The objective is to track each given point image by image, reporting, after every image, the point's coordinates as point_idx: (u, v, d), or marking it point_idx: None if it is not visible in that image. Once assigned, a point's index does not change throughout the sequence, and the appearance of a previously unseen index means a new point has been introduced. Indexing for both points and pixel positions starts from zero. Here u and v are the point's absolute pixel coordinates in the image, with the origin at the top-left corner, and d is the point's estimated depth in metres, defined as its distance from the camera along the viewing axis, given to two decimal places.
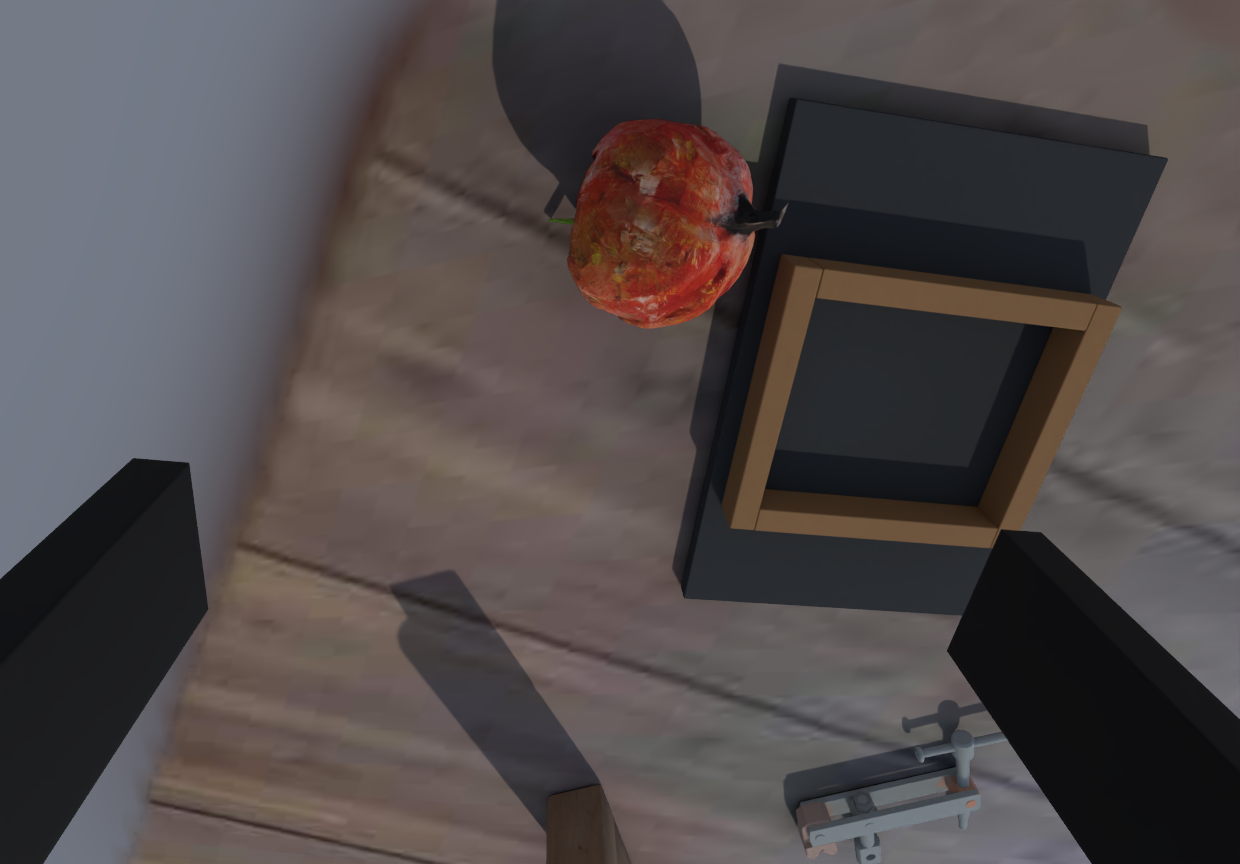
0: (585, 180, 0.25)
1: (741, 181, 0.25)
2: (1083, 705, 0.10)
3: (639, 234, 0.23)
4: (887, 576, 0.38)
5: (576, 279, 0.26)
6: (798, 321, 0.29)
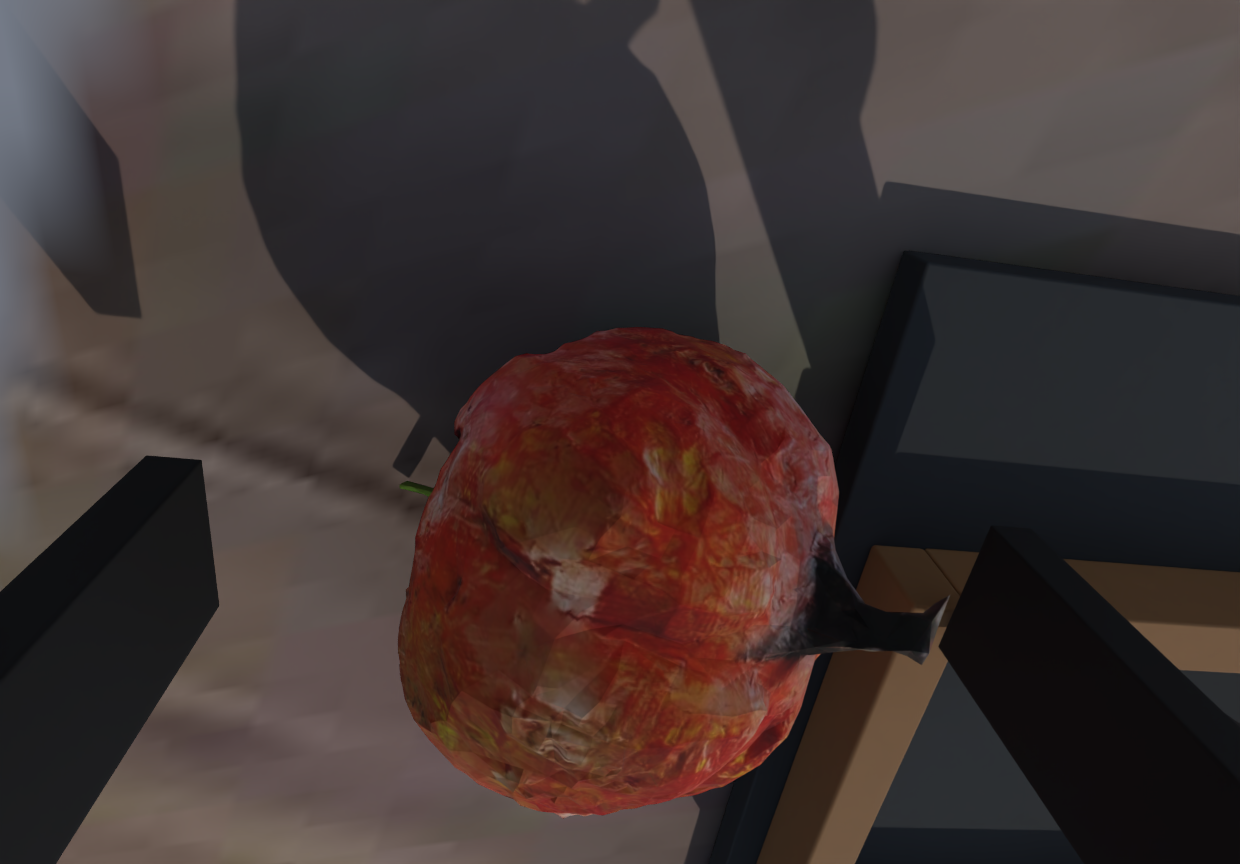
0: (429, 507, 0.10)
1: (818, 506, 0.10)
2: (1071, 699, 0.10)
3: (550, 724, 0.08)
4: None
5: None
6: (911, 696, 0.14)
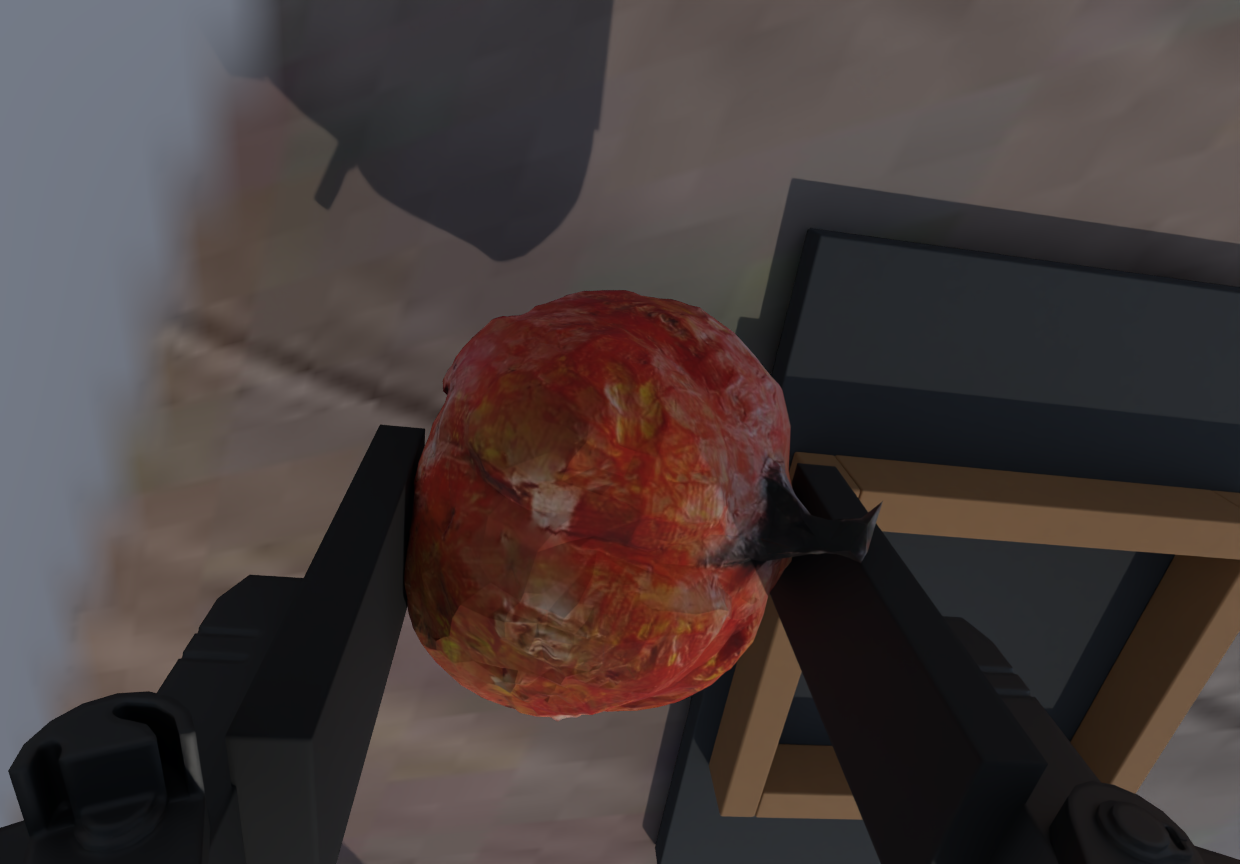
0: (424, 454, 0.11)
1: (768, 435, 0.11)
2: (834, 608, 0.11)
3: (537, 626, 0.10)
4: None
5: None
6: None
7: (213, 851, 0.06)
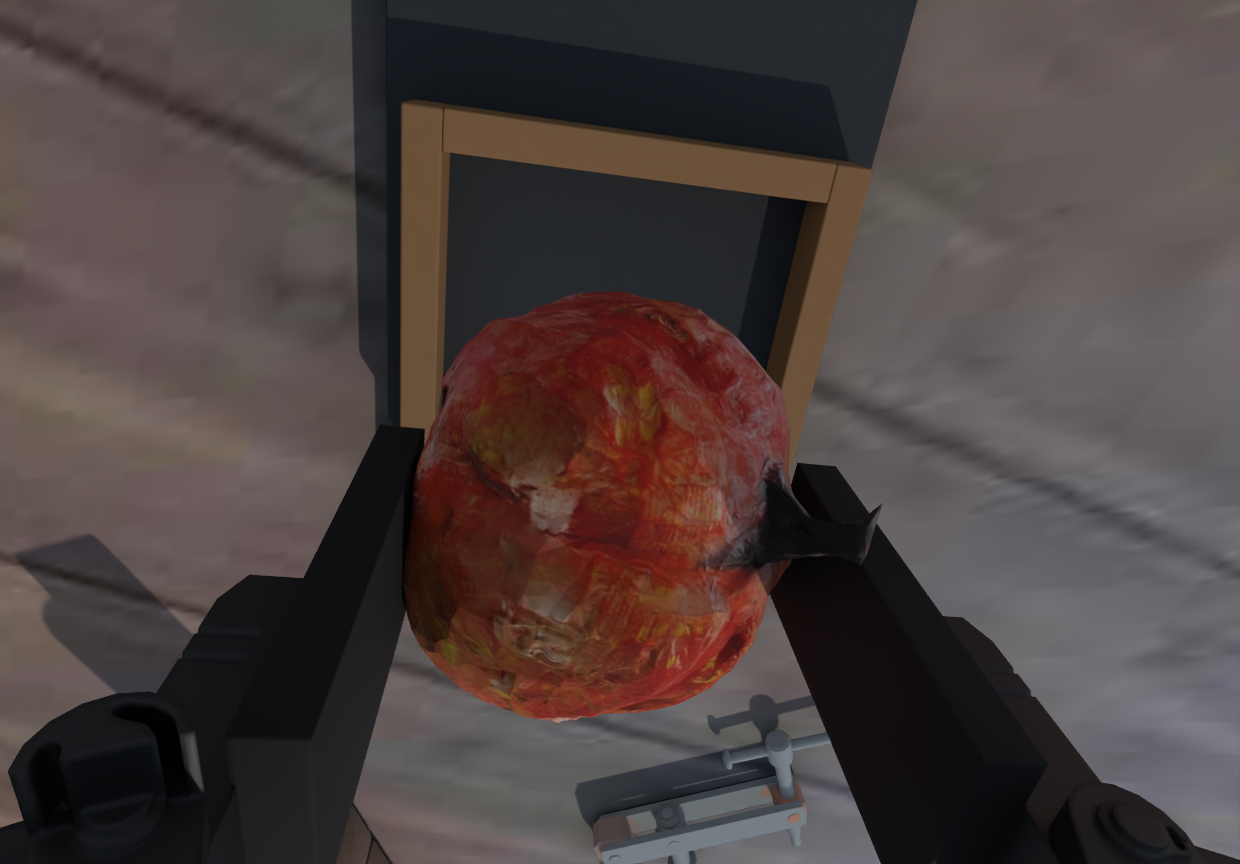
0: (423, 456, 0.11)
1: (767, 437, 0.11)
2: (834, 608, 0.11)
3: (535, 628, 0.10)
4: None
5: None
6: (424, 185, 0.22)
7: (212, 851, 0.06)
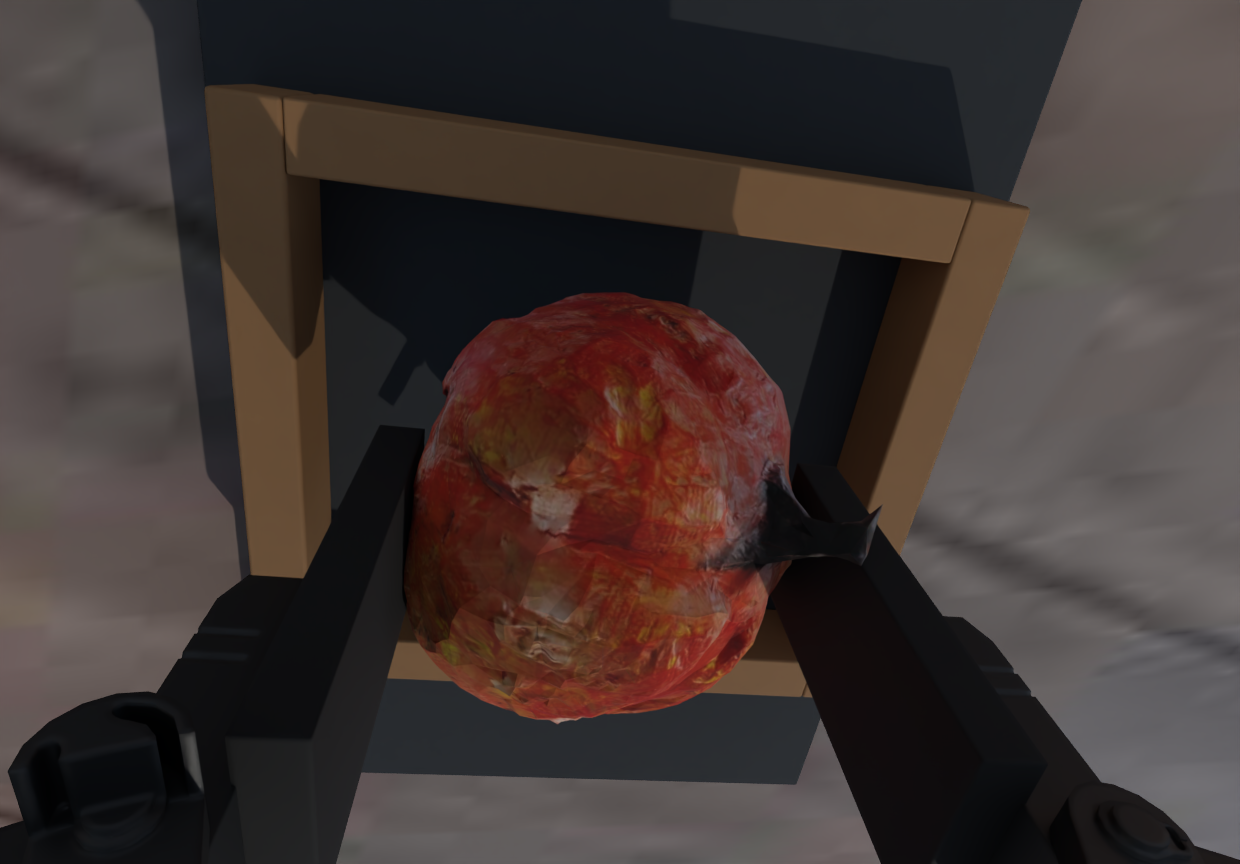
0: (424, 457, 0.11)
1: (768, 437, 0.11)
2: (834, 608, 0.11)
3: (535, 629, 0.10)
4: (643, 727, 0.21)
5: None
6: (259, 233, 0.12)
7: (213, 851, 0.06)
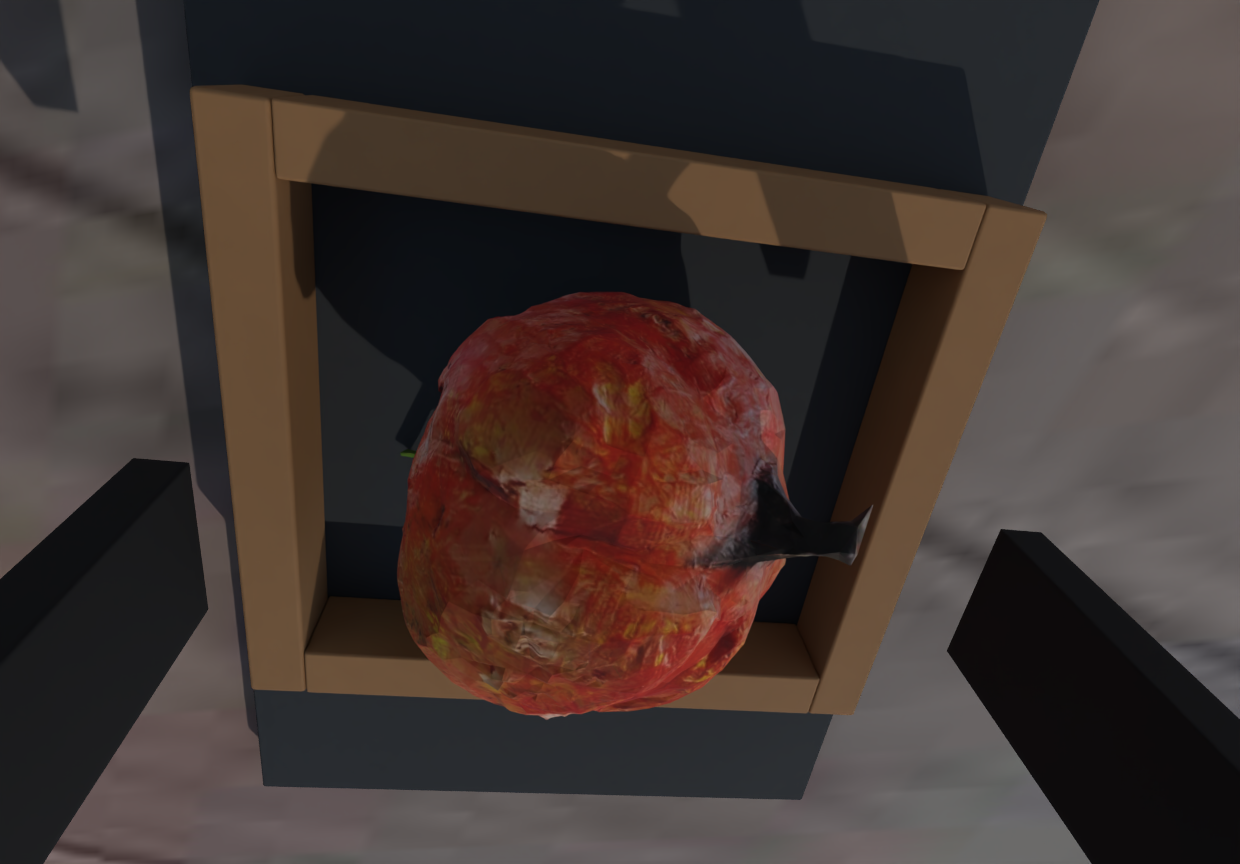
0: (418, 452, 0.11)
1: (760, 437, 0.11)
2: (1083, 705, 0.10)
3: (522, 623, 0.10)
4: (645, 742, 0.21)
5: None
6: (248, 239, 0.12)
7: None
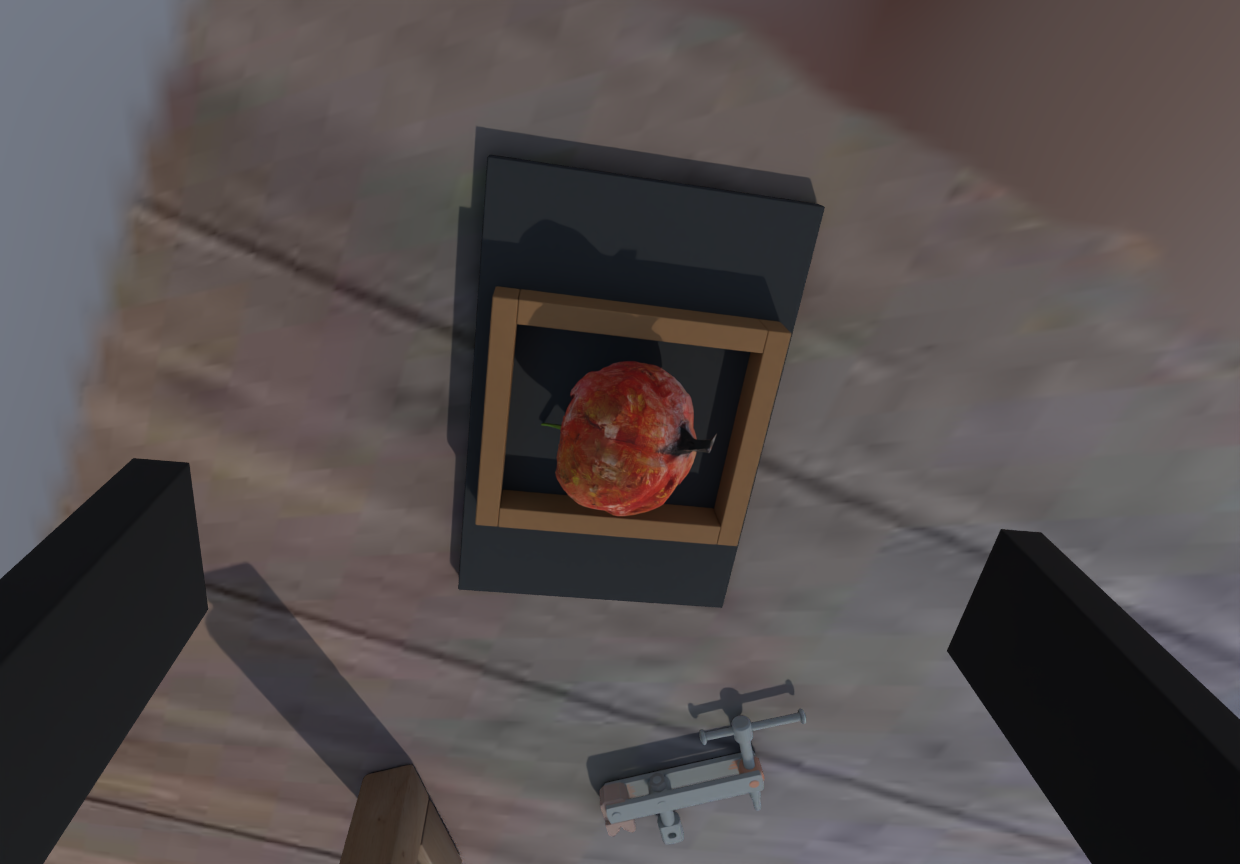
0: (565, 418, 0.33)
1: (682, 413, 0.33)
2: (1083, 705, 0.10)
3: (605, 468, 0.32)
4: (643, 571, 0.43)
5: (562, 487, 0.34)
6: (504, 344, 0.34)
7: None
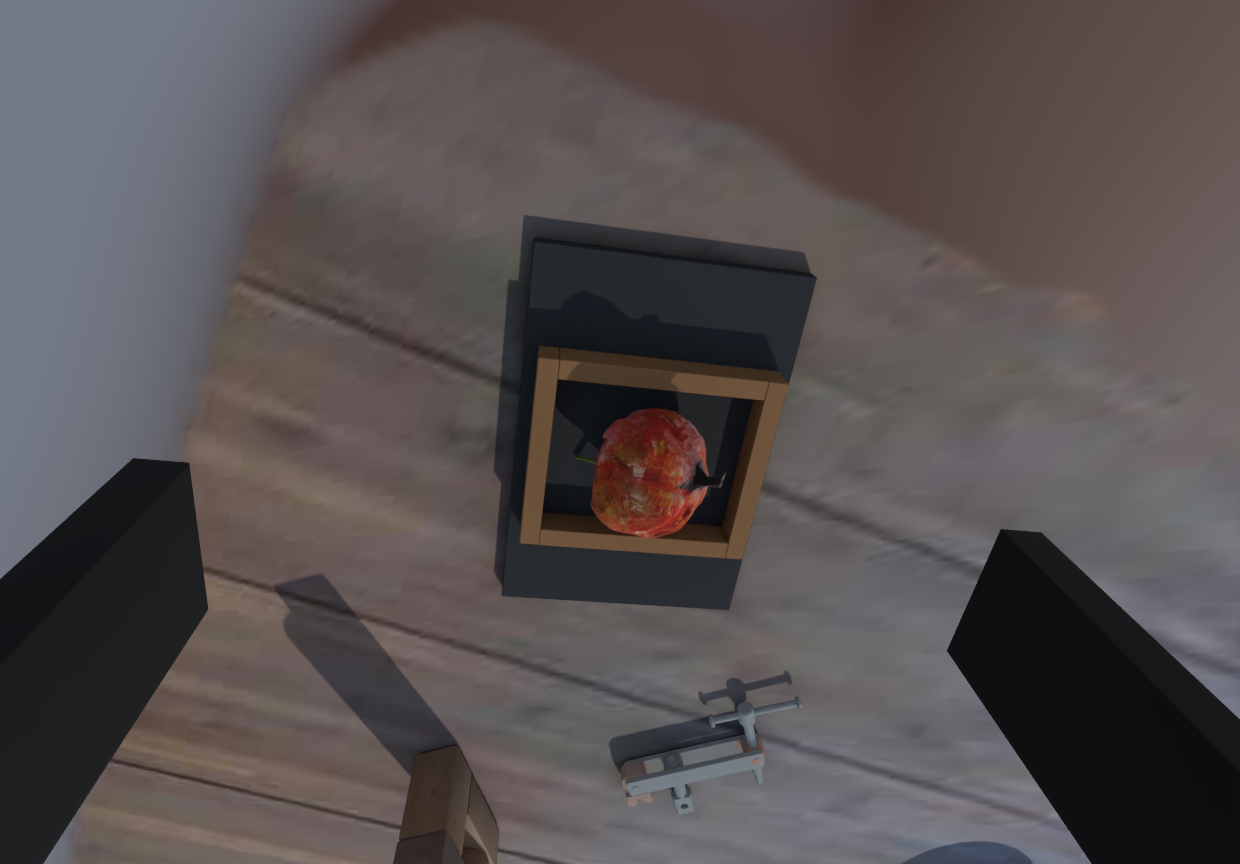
0: (599, 458, 0.40)
1: (697, 453, 0.40)
2: (1083, 705, 0.10)
3: (634, 501, 0.38)
4: (660, 579, 0.49)
5: (596, 514, 0.41)
6: (547, 395, 0.40)
7: None
